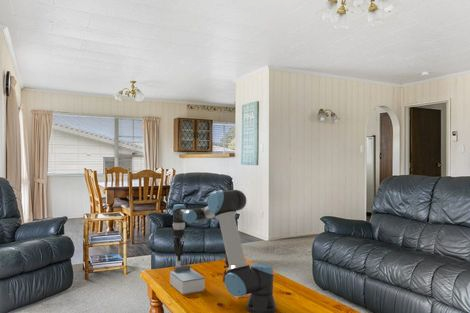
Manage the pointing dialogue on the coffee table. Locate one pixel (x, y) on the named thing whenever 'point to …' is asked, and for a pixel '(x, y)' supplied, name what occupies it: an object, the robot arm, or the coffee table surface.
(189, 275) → the lid
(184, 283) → the box
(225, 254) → the music box
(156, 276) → the coffee table surface
